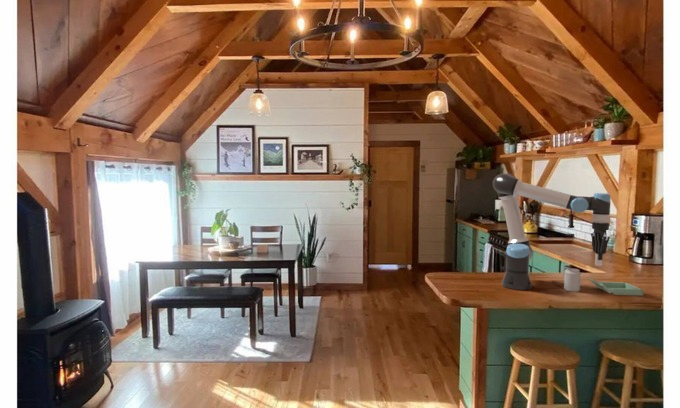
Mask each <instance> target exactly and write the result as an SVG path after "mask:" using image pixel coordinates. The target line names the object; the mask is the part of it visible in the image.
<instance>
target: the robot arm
mask: <svg viewBox="0 0 680 408" xmlns="http://www.w3.org/2000/svg"><path fill="white" fill-rule="evenodd" d="M492 187H493V189H494V190H495V192H496V193H497V198H498V200H501V203H502V207H503V209H502V210H503V212H504V218H505V221H506V227H507V232H508V237H509V240H508V241H507V247H506V251H505V252H506V259H505V264H506V265H505V273H504V276H503V278H502V281H501V285H502V287H505V288H508V289H511V290H516V291H517V290H519V291H526V290H527V291H528V290H531V289H532V281H531V278H530V275H529V270H530V260H531V259H532V257H533V255H534V251H533V248H532V246H531V243H530V238H528V237H526V232H525V229H524V223H523V219H522V214H521V210H520V205H519V201H518V200H519V199H518V196H520V197H523V198H526V199H527V198H528V199H530V200H533V201H534V200H535V201H537V202H543V203H545V204H548V205H549V204H550V205H552V206H555V207H559V208H563V209H566V210H570V211H573V212H575V213H578V214H579V213H584V212H586V211H592V223H591V229H592V230H593V232H592V233H590V236H591V244H592V251H593V252H594V254H595V255H594V258H595V259H594V266H596V267H602V266H603V256H604V254H606V253H607V248H608V244H609V241H610V238H611V237H610V236H608V234H607V231H609V230H610V223H609V222H610V217H611V216H610V213H611V194H609V193H608V192H607V193H605V192H603V193H602V192H595V193H593V196H577V195H572V194H569V193H565V192H562V191H559V190H558V191H557V190H553V189H550V188H545V187H543V186H542V187H541V186H538V185H536V184H532V183H531V184H530V183H526V182H525V181H524V182H523V181H521V179H519V178H517V177H516V176H514V174H512V173H500V174H498V175H496V176H495V177H494V178H493V180H492Z"/></svg>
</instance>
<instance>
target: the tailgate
mask: <svg viewBox="0 0 680 408" xmlns="http://www.w3.org/2000/svg"><path fill="white" fill-rule="evenodd" d="M589 281H590V282H591V283H592V284H593V285H594V286H595V287H596V288H597V289H600V290H602V291H604V292H605V293H608V294H612V293H611V291H610V290H609V289H608V288H607V287H606V286H605V285H604V284H602V283H600V282H601V281H598V280H595V279H593V278H590V279H589Z"/></svg>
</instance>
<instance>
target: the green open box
mask: <svg viewBox="0 0 680 408" xmlns="http://www.w3.org/2000/svg"><path fill="white" fill-rule="evenodd" d="M599 282H600V283H602V284H604V285H605V286H606V287H607V288H608V289H609V290H610V291H611V293H610V294H612V295H614V296H644V289H642V288H640V287H637V286H634V285H633V284H630V283H628V282H626V281H625V282H621V281H620V282H617V281H599Z"/></svg>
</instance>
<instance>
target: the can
mask: <svg viewBox="0 0 680 408" xmlns="http://www.w3.org/2000/svg"><path fill="white" fill-rule="evenodd" d="M581 276H582V275H581V272H580V269H578V268H573V267H572V268H571V267H567V268H565V270H564V280H563V281H564V282H563V289H564V290H565V291H566V292H569V293H570V292H576V293H577V292H580V291H581Z"/></svg>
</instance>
